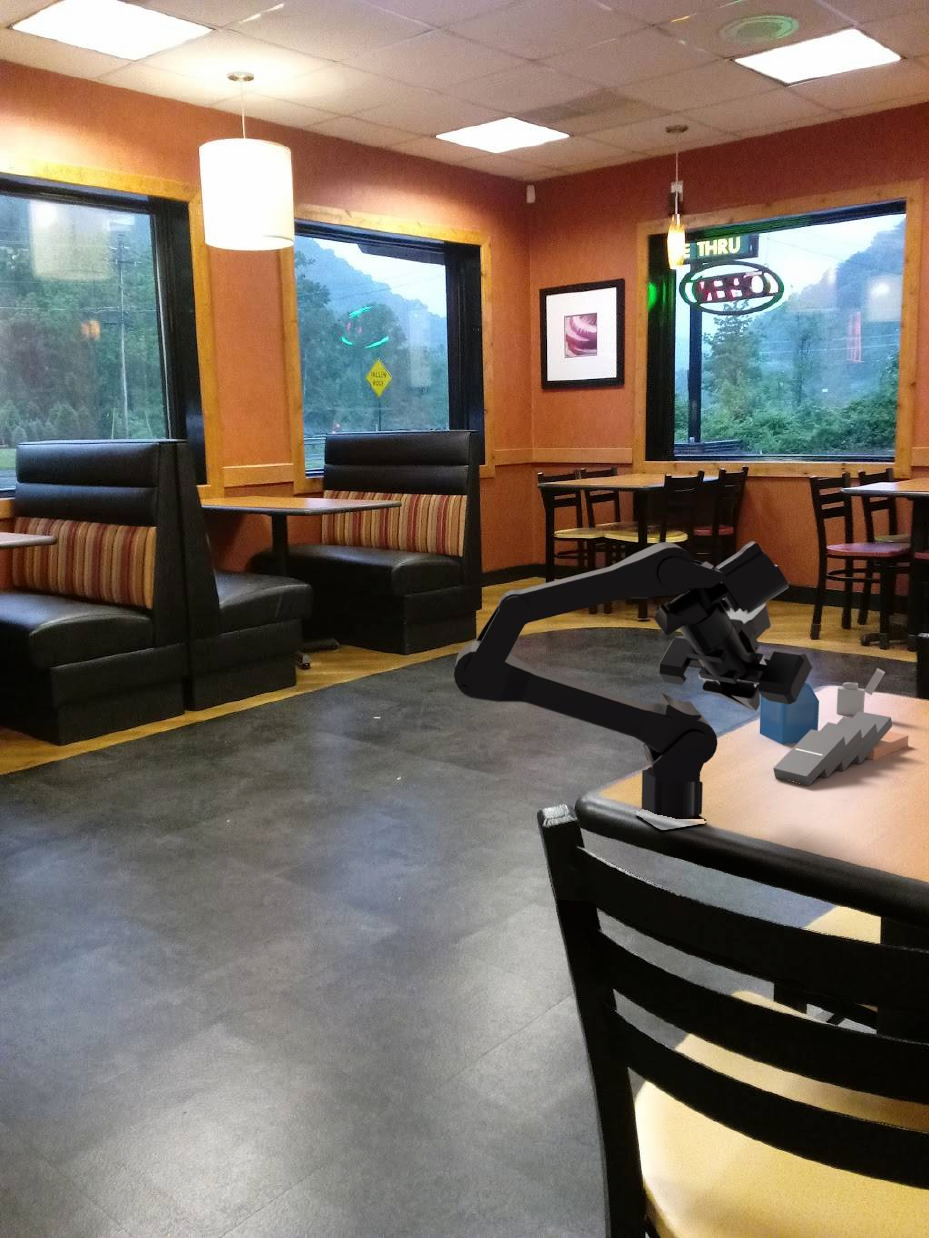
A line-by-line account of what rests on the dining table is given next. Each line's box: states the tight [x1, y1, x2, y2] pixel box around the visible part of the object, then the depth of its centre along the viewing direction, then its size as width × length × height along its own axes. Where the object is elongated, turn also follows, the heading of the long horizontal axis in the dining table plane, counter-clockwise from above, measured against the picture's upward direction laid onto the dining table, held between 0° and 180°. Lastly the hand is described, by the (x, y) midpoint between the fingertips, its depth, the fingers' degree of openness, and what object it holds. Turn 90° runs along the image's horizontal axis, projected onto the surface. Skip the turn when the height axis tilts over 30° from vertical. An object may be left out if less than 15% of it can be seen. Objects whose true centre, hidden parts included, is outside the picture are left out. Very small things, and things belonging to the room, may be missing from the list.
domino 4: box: [851, 711, 893, 765], centre depth 154 cm, size 2×5×10 cm
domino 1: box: [773, 729, 846, 786], centre depth 145 cm, size 2×5×10 cm
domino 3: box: [834, 716, 877, 772], centre depth 151 cm, size 2×5×10 cm
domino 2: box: [817, 721, 862, 779], centre depth 148 cm, size 2×5×10 cm
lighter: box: [836, 667, 886, 717], centre depth 175 cm, size 7×2×8 cm, turn 63°
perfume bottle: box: [759, 682, 820, 745], centre depth 163 cm, size 6×6×12 cm
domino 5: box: [865, 730, 910, 760], centre depth 157 cm, size 2×5×10 cm
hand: (755, 707), depth 135 cm, fingers closed
